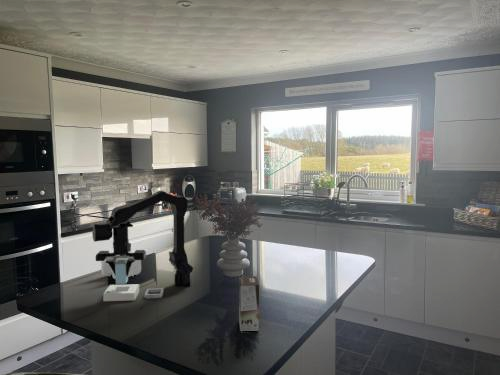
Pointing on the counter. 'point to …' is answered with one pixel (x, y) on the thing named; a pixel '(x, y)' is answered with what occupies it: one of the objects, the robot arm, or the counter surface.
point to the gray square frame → (159, 290)
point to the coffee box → (249, 303)
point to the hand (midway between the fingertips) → (121, 276)
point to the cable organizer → (106, 267)
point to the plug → (121, 272)
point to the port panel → (121, 292)
